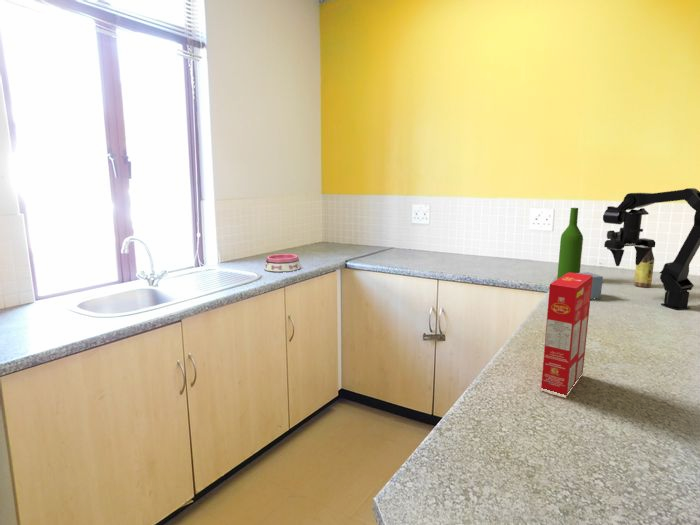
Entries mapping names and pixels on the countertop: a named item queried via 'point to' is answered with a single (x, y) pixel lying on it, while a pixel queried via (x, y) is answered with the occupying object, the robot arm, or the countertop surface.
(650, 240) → the robot arm
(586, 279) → the food packaging
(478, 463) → the countertop surface
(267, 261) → the dog bowl
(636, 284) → the sauce bottle
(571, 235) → the wine bottle
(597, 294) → the grey-blue cube
